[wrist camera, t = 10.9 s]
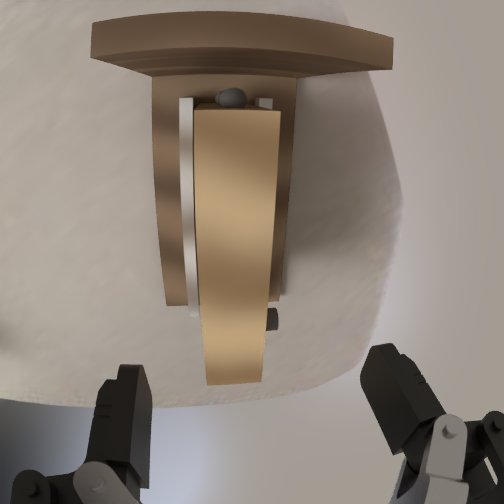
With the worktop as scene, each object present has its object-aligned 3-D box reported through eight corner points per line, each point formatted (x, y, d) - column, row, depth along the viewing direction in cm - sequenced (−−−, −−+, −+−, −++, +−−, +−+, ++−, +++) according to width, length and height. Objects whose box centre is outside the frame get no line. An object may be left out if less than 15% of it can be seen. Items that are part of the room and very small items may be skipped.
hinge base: (154, 61, 22) (92, 22, 8) (294, 62, 24) (393, 37, 10) (167, 300, 33) (156, 429, 20) (277, 295, 35) (319, 416, 21)
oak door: (200, 91, 23) (194, 86, 11) (262, 92, 24) (319, 91, 12) (202, 272, 31) (207, 385, 19) (254, 270, 32) (285, 379, 20)
